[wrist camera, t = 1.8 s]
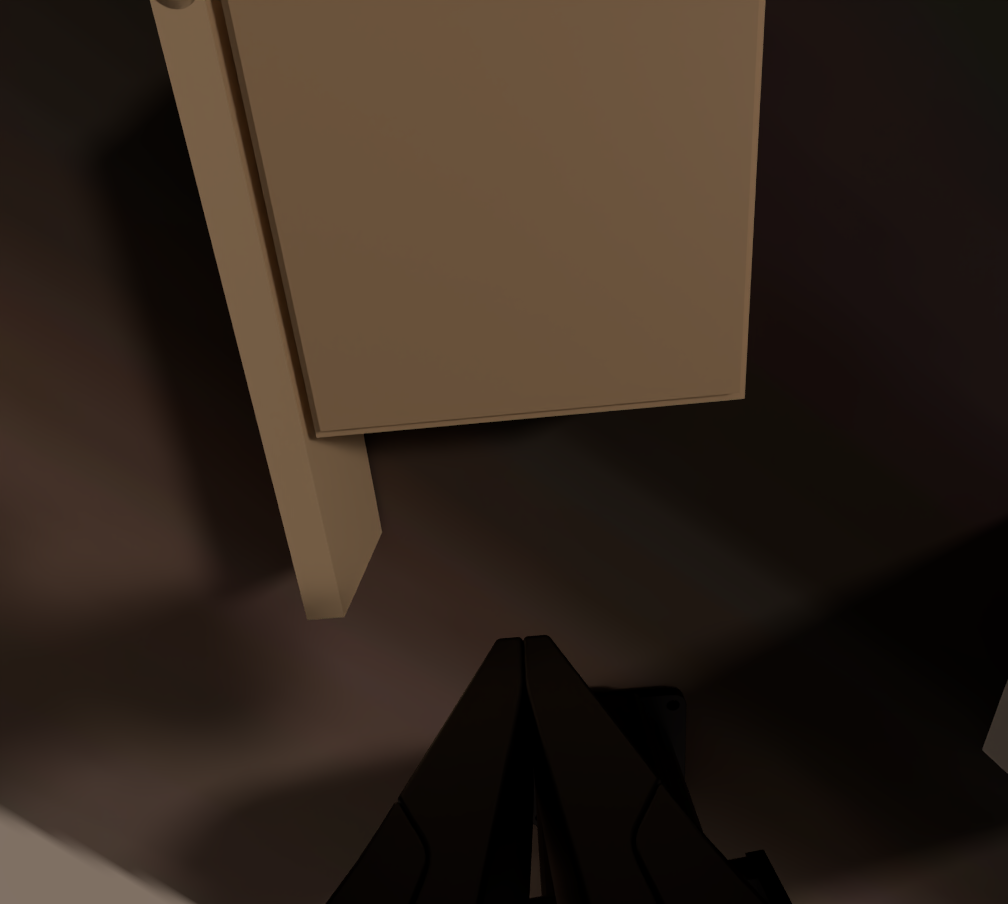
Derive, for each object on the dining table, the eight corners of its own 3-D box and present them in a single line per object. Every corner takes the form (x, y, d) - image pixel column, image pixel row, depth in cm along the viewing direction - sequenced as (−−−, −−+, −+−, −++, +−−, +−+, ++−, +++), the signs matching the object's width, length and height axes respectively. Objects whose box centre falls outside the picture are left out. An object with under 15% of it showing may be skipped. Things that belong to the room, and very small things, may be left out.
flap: (383, 532, 19) (346, 616, 15) (352, 535, 19) (305, 620, 15) (290, 35, 14) (192, -69, 10) (249, 40, 14) (131, -62, 10)
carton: (678, 360, 17) (748, 400, 12) (366, 390, 18) (313, 440, 13) (683, -42, 14) (781, -206, 9) (295, 2, 14) (187, -133, 9)
